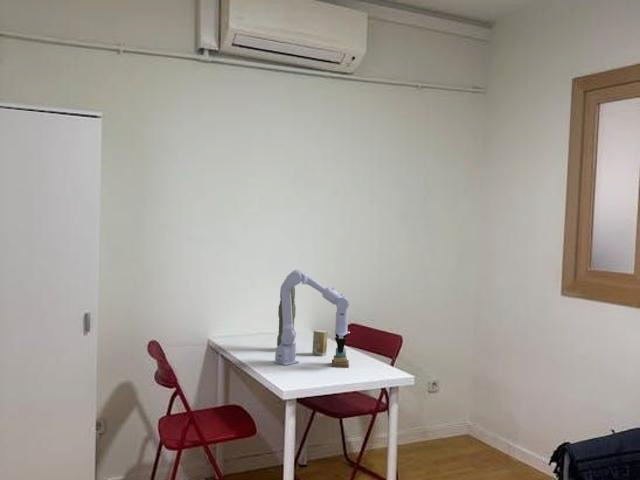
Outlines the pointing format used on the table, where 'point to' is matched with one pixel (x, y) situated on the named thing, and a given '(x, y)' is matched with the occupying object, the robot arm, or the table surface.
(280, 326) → the thermos
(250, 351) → the table surface
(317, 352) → the skincare box
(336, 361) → the oak block
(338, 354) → the teal cylinder
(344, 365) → the walnut slab
